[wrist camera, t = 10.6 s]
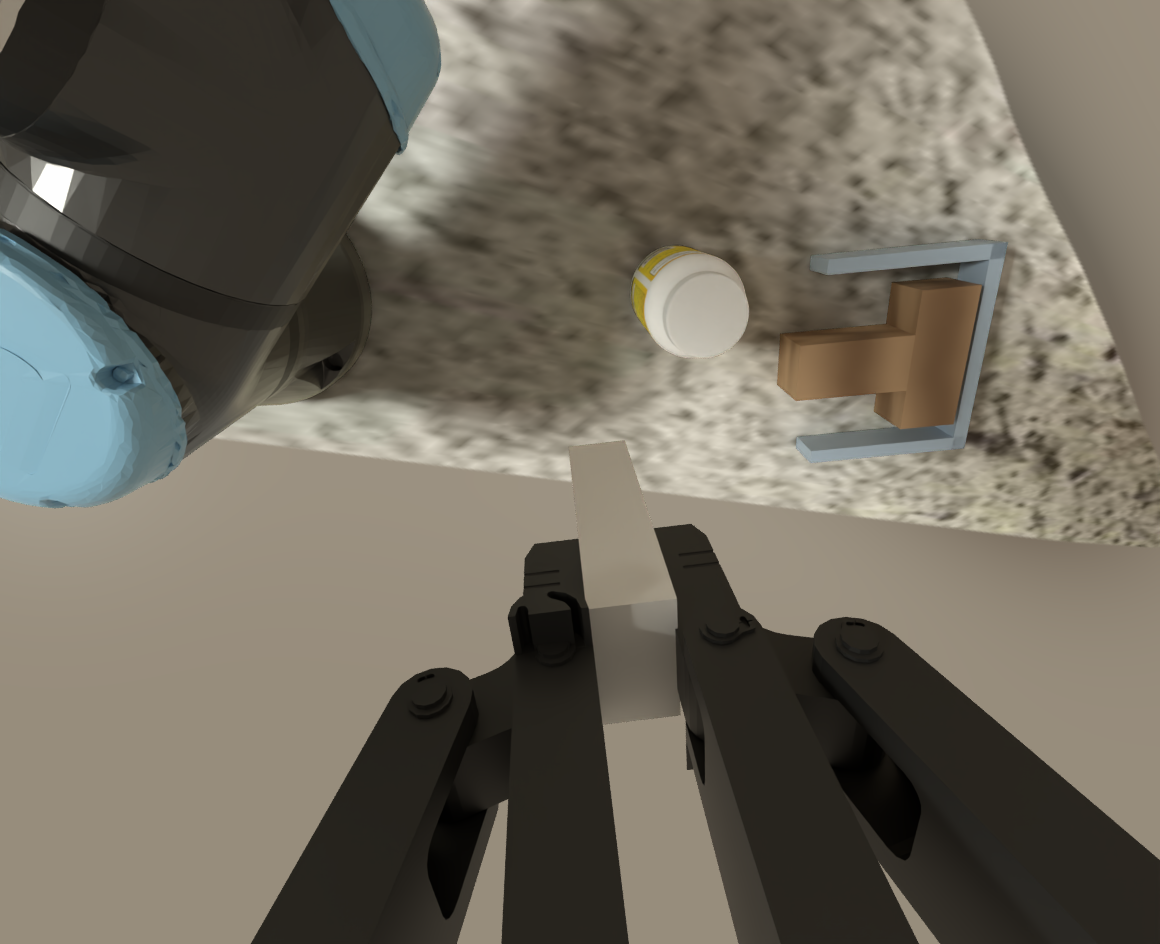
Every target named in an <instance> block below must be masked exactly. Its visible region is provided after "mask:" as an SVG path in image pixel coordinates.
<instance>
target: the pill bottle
mask: <svg viewBox="0 0 1160 944" xmlns="http://www.w3.org/2000/svg"><path fill="white" fill-rule="evenodd" d="M630 298H631V304H632V307H633V310H634V312H635V314H636V316H637V317H638V319H639V320H640V322H641V323H642V324H643V326H644V327H645V328H646V330H647V331H648V332H649V334H650V335H651V336H652V338H653V339H654V340H655V342H656V343H657V344H658V345H659V346H660V347H662V348H663V349H664V350H666V351H667V352H669V353H671V354H673V355H676V356H679V357H684V358H712V357H716V356H719V355H721V354H723V353H725V352H727V351H728V350H729V349H731V348H732V347H733V346H734V345H735V344H736V343H737V342H738V341H739V340H740V338H741V337H742V335H743V333H744V331H745V329H746V326H747V323H748V318H749V305H748V300H747V297H746V293H745V289H744V285H743V283H742V281H741V278H740V277H739V275H738V274H737V272H736V271H735V270H734V269H733V268H732V267H731V266H730V265H729V264H728V263H727V262H725V261H724V260H722V259H720V258H718V257H716V256H713V255H710V254H707V253H704V252H701V251H698V250H695V249H692V248H689V247H685V246H679V245H672V246H666V247H662V248H660V249H657V250H655V251H654V252H652V253H651V254H649V255H648V256H647V257H646V258H645V259H644V260H643V261H642V262H641V263H640V264H639V266H638V267H637V269H636V271H635V273H634V275H633V278H632V281H631V287H630Z"/></svg>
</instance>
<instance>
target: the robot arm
mask: <svg viewBox="0 0 1160 944" xmlns="http://www.w3.org/2000/svg"><path fill="white" fill-rule="evenodd" d="M440 69H441V52H440V43H439V37H438V33H437V28H436V25H435V23H434V20H433V18H432V16H431V14H430V12H429V10H428V8H427V6H426V4H425V2H424V0H0V498H3V499H7V500H10V501H13V502H18V503H22V504H26V505H32V506H40V507H48V508H63V507H65V506H69V507H75V506H77V507H92V506H97V505H101V504H105V503H109V502H112V501H114V500H117V499H119V498H122V497H124V496H126V495H128V494H130V493H131V492H133V491H135V490H137V489H138V488H140V487H142V486H144V485H146V484H148V483H152V482H155V481H157V480H158V479H163V478H164V477H166V476H167V475H168V474H169V473H170V472H171V471H172V470H174V469H175V468H176V467H178V465H179V464H180V462H181V461H182V460H183V459H184V458H186V457H187V456H188V455H190V454H191V453H192V452H194V451H195V450H197V449H198V448H199V447H201V446H202V445H203V444H205V443H206V442H208V441H209V440H211V439H212V438H213V437H215V436H216V435H218V434H219V433H220V432H222V431H223V430H225V429H226V428H227V427H229V426H230V425H231V424H233V423H234V422H236V421H237V420H238V419H240V418H241V417H243V416H244V415H245V414H247V413H248V412H250V411H251V410H252V409H254V408H255V407H256V406H264V405H282V404H289V403H294V402H298V401H301V400H304V399H307V398H310V397H312V396H315V395H317V394H319V393H321V392H322V391H324V390H326V389H327V388H328V387H330V386H331V385H332V384H334V383H335V382H336V381H337V380H338V379H340V378H341V377H342V376H343V375H344V374H345V373H346V372H347V371H348V370H349V369H350V368H351V367H352V366H353V365H354V363H355V362H356V360H357V359H358V357H359V356H360V354H361V352H362V350H363V348H364V346H365V343H366V340H367V337H368V334H369V329H370V324H371V295H370V289H369V284H368V280H367V276H366V273H365V270H364V267H363V265H362V263H361V260H360V258H359V256H358V254H357V252H356V250H355V248H354V247H353V245H352V243H351V242H350V240H349V239H348V237H347V236H346V234H345V233H346V232H347V230H348V228H349V227H350V225H351V224H352V222H353V220H354V219H355V217H356V216H357V214H358V212H359V211H360V209H361V208H362V206H363V204H364V203H365V201H366V200H367V198H368V196H369V195H370V193H371V192H372V190H373V188H374V187H375V185H376V184H377V182H378V180H379V179H380V177H381V176H382V174H383V172H384V171H385V169H386V168H387V166H388V164H389V163H390V161H391V160H392V158H393V156H394V155H395V153H396V154H398V155H400V154H402V153H403V152H404V150H405V149H406V147H407V143H408V137H409V134H408V133H409V131H410V129H411V127H412V126H413V124H414V122H415V120H416V119H417V117H418V115H419V113H420V112H421V110H422V108H423V106H424V104H425V103H426V101H427V99H428V97H429V96H430V94H431V92H432V90H433V88H434V87H435V85H436V82H437V80H438V77H439V73H440ZM569 456H570V465H571V474H572V484H573V492H574V502H575V511H576V519H577V529H578V538H579V539H572V540H564V541H556V542H548V543H539V544H534V546H533V547H532V548H531V550H530V551H529V553H528V554H527V556H526V558H525V567H524V592H523V596H522V597H520V598H519V599H518V600H517V601H516V602H515V603H514V604H513V606H511V609H510V612H509V615H508V621H509V627H510V631H511V636H512V641H513V646H514V652H515V654H514V655H513V656H512V657H511V658H510V659H509V660H508V661H507V662H506V663H504V664H503V665H502V666H500V667H499V668H497V669H495V670H493V671H491V672H488V673H486V674H484V675H481V676H478V677H476V678H473V679H470V680H469V678H468V677H467V676H466V675H464V674H463V673H462V672H461V671H459V670H455V669H451V668H435V669H429V670H427V671H424V672H422V673H419V674H416V675H414V676H413V677H412V678H410V679H409V680H407V681H406V682H404V683H403V684H402V685H401V686H400V687H399V688H398V690H397V691H396V692H395V693H394V695H393V696H392V697H391V699H390V701H389V703H388V705H387V707H386V708H385V710H384V712H383V713H382V715H381V717H380V719H379V720H378V722H377V724H376V726H375V727H374V729H373V731H372V733H371V734H370V736H369V738H368V740H367V741H366V743H365V745H364V747H363V748H362V750H361V752H360V754H359V755H358V757H357V759H356V761H355V762H354V764H353V766H352V768H351V769H350V771H349V773H348V775H347V776H346V778H345V780H344V782H343V783H342V785H341V787H340V789H339V790H338V792H337V794H336V796H335V797H334V799H333V801H332V803H331V804H330V806H329V808H328V810H327V811H326V813H325V815H324V817H323V818H322V820H321V822H320V824H319V826H318V827H317V829H316V831H315V833H314V834H313V836H312V838H311V839H310V841H309V843H308V845H307V846H306V848H305V850H304V852H303V853H302V855H301V857H300V859H299V860H298V862H297V864H296V866H295V867H294V869H293V871H292V873H291V874H290V876H289V878H288V880H287V881H286V883H285V885H284V887H283V888H282V890H281V892H280V894H279V895H278V897H277V899H276V901H275V902H274V904H273V906H272V908H271V909H270V911H269V913H268V915H267V917H266V918H265V920H264V922H263V923H262V925H261V927H260V929H259V930H258V932H257V934H256V936H255V938H254V939H253V941H252V943H251V944H457V941H458V938H459V935H460V931H461V928H462V925H463V922H464V918H465V915H466V912H467V908H468V905H469V902H470V899H471V895H472V892H473V889H474V886H475V882H476V879H477V876H478V873H479V869H480V866H481V863H482V860H483V856H484V853H485V850H486V846H487V843H488V840H489V837H490V834H491V830H492V827H493V824H494V821H495V817H496V814H497V811H498V804H499V803H500V802H502V801H504V800H507V799H508V818H507V839H506V840H507V841H506V860H505V881H504V903H503V924H502V944H629V941H628V933H627V925H626V916H625V908H624V900H623V891H622V883H621V876H620V875H621V874H620V866H619V858H618V849H617V841H616V833H615V825H614V817H613V807H612V799H611V791H610V782H609V774H608V766H607V757H606V749H605V742H604V732H603V724H612V723H620V722H629V721H636V720H645V719H654V718H662V717H669V716H678V715H680V701H681V705H682V708H683V712H684V716H685V719H686V753H687V770H691V769H694V773H695V777H696V781H697V785H698V789H699V792H700V796H701V800H702V804H703V808H704V811H705V816H706V819H707V823H708V827H709V831H710V835H711V839H712V843H713V846H714V850H715V854H716V858H717V862H718V866H719V870H720V873H721V877H722V881H723V885H724V889H725V893H726V896H727V900H728V904H729V908H730V912H731V916H732V920H733V924H734V927H735V931H736V935H737V939H738V943H739V944H919V943H918V941H917V939H916V937H915V935H914V933H913V931H912V929H911V927H910V925H909V923H908V921H907V919H906V917H905V915H904V913H903V911H902V909H901V907H900V905H899V903H898V901H897V899H896V897H895V895H894V893H893V891H892V889H891V887H890V885H889V883H888V880H887V879H886V877H885V874H884V872H883V871H882V868H881V866H880V864H881V865H882V867H883V868H884V869H885V871H886V872H887V873H888V875H889V876H890V877H891V879H892V880H893V881H894V883H895V884H896V885H897V887H898V888H899V889H900V891H901V892H902V893H903V895H904V896H905V897H906V899H907V900H908V901H909V903H910V904H911V905H912V907H913V908H914V909H915V911H916V912H917V913H918V915H919V916H920V917H921V919H922V920H923V921H924V923H925V924H926V925H927V927H928V928H929V929H930V931H931V932H932V933H933V935H934V936H935V937H936V939H937V940H938V941H939V943H940V944H1160V860H1159V859H1158V858H1157V857H1155V856H1154V855H1153V854H1152V853H1151V852H1150V851H1148V850H1147V849H1146V848H1145V847H1144V846H1143V845H1141V844H1140V843H1139V842H1138V841H1137V840H1135V839H1134V838H1133V837H1132V836H1131V835H1129V834H1128V833H1127V832H1126V831H1125V830H1124V829H1122V828H1121V827H1120V826H1119V825H1118V824H1116V823H1115V822H1114V821H1113V820H1112V819H1111V818H1110V817H1108V816H1107V815H1106V814H1105V813H1104V812H1103V811H1101V810H1100V809H1099V808H1098V807H1097V806H1095V805H1094V804H1093V803H1092V802H1091V801H1090V800H1088V799H1087V798H1086V797H1085V796H1084V795H1083V794H1081V793H1080V792H1079V791H1078V790H1077V789H1075V788H1074V787H1073V786H1072V785H1071V784H1070V783H1068V782H1067V781H1066V780H1065V779H1064V778H1063V777H1061V776H1060V775H1059V774H1058V773H1057V772H1055V771H1054V770H1053V769H1052V768H1051V767H1050V766H1048V765H1047V764H1046V763H1045V762H1044V761H1042V760H1041V759H1040V758H1039V757H1038V756H1037V755H1035V754H1034V753H1033V752H1032V751H1031V750H1030V749H1028V748H1027V747H1026V746H1025V745H1024V744H1023V743H1021V742H1020V741H1019V740H1018V739H1017V738H1015V737H1014V736H1013V735H1012V734H1011V733H1010V732H1008V731H1007V730H1006V729H1005V728H1004V727H1003V726H1001V725H1000V724H999V723H998V722H997V721H995V720H994V719H993V718H992V717H991V716H990V715H988V714H987V713H986V712H985V711H984V710H982V709H981V708H980V707H979V706H978V705H977V704H975V703H974V702H973V701H972V700H971V699H970V698H968V697H967V696H966V695H965V694H964V693H963V692H961V691H960V690H959V689H958V688H957V687H955V686H954V685H953V684H952V683H951V682H950V681H948V680H947V679H946V678H945V677H944V676H943V675H941V674H940V673H939V672H938V671H937V670H935V669H934V668H933V667H932V666H931V665H930V664H928V663H927V662H926V661H925V660H924V659H922V658H921V657H920V656H919V655H918V654H917V653H915V652H914V651H913V650H912V649H911V648H910V647H908V646H907V645H906V644H905V643H904V642H902V641H901V640H900V639H899V638H898V637H896V636H895V635H894V634H893V633H891V632H890V631H888V630H887V629H885V628H884V627H882V626H880V625H879V624H876V623H873V622H870V621H867V620H864V619H859V618H849V617H842V618H836V619H830V620H829V621H827V622H825V623H823V624H821V625H820V626H819V627H818V629H817V630H816V632H815V634H814V638H810V637H801V636H793V635H786V634H780V633H775V632H772V631H770V630H767V629H764V628H762V626H761V624H760V623H759V622H758V621H757V620H756V618H755V617H754V616H753V615H751V614H750V613H748V612H746V611H745V610H743V609H741V608H740V606H739V604H738V602H737V599H736V597H735V595H734V593H733V591H732V589H731V587H730V585H729V582H728V580H727V578H726V576H725V574H724V572H723V570H722V568H721V566H720V565H719V561H718V559H717V557H716V555H715V553H713V549H712V547H711V544H710V542H709V540H708V538H707V536H706V535H705V534H704V533H703V532H701V531H700V530H698V529H697V528H696V527H695V526H693V525H692V524H686V525H677V526H669V527H660V528H653V525H652V522H651V519H650V515H649V512H648V509H647V506H646V503H645V501H644V497H643V494H642V491H641V488H640V485H639V482H638V479H637V476H636V473H635V470H634V467H633V464H632V461H631V458H630V455H629V452H628V449H627V446H626V443H625V440H623V441H614V442H606V443H597V444H588V445H580V446H571V447H569ZM878 861H879V862H878ZM879 863H880V864H879Z"/></svg>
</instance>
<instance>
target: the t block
mask: <svg viewBox="0 0 1160 944" xmlns="http://www.w3.org/2000/svg"><path fill="white" fill-rule="evenodd" d="M981 288H982V285H980V284H975V283H970V282H966V281H961V280H956V279H951V278H946V277H945V278H935V279H924V280H913V281H903V282H892V284H891V292H890V299H889V306H888V313H887V320H886V324H879V325H868V326H857V327H847V328H836V329H825V330H815V331H804V332H793V333H783V334H780V348H779V364H778V379H777V385H778V386H779V387H780V388H782V389H783V390H784V391H785V392H786V393H787V394H789V395H790V396H791V397H792V398H793V399H794V400H796V401H800V400H811V399H822V398H832V397H843V396H854V395H864V394H875V393H876V399H875V406H874V412H875V413H877V414H878V415H880V416H881V417H883V418H884V419H886V420H887V421H889V422H890V423H892V424H893V425H895V426H896V427H898V428H899V429H908V428H919V427H930V426H940V425H951V424H954V420H955V415H956V410H957V405H958V401H959V396H960V391H961V386H962V381H963V376H964V371H965V366H966V361H967V356H968V351H969V347H970V342H971V337H972V332H973V327H974V322H975V317H976V312H977V307H978V302H979V297H980V292H981Z"/></svg>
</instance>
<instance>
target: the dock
mask: <svg viewBox="0 0 1160 944" xmlns="http://www.w3.org/2000/svg"><path fill="white" fill-rule="evenodd" d="M1007 245H1008V242H1001V241H992V240H982V239H975V240H965V241H954V242H944V243H934V244H923V245H913V246H902V247H892V248H882V249H871V250H861V251H851V252H840V253H830V254H820V255H811V261H810V270H811V271H815V272H818V273H822V274H825V275H834V274H844V273H855V272H865V271H875V270H886V269H896V268H906V267H917V266H927V265H938V264H948V263H958V262H961V263H960V268H959V274H958V279H957V280H961V281H966V282H970V283H975V284H980V285H982V288H981V292H980V297H979V302H978V307H977V312H976V317H975V322H974V327H973V332H972V337H971V342H970V347H969V351H968V356H967V361H966V366H965V371H964V376H963V381H962V386H961V391H960V396H959V401H958V405H957V410H956V415H955V420H954V424H951V425H940V426H930V427H919V428H908V429H899V428H898V427H893V428H883V429H872V430H862V431H852V432H841V433H831V434H820V435H810V436H799V437H797V441H796V449H797V450H798V451H799V452H800V453H801V454H802V455H803V456H804V457H805V458H806V459H807V460H808V461H809V462H810V463H816V462H826V461H837V460H847V459H858V458H868V457H879V456H889V455H899V454H910V453H920V452H931V451H941V450H952V449H962V448H964V447H965V442H966V437H967V433H968V428H969V423H970V418H971V414H972V409H973V404H974V400H975V395H976V390H977V386H978V381H979V376H980V371H981V367H982V362H983V357H984V353H985V348H986V343H987V339H988V334H989V329H990V324H991V320H992V315H993V310H994V306H995V301H996V296H997V292H998V287H999V282H1000V277H1001V273H1002V268H1003V263H1004V259H1005V254H1006V249H1007Z"/></svg>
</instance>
